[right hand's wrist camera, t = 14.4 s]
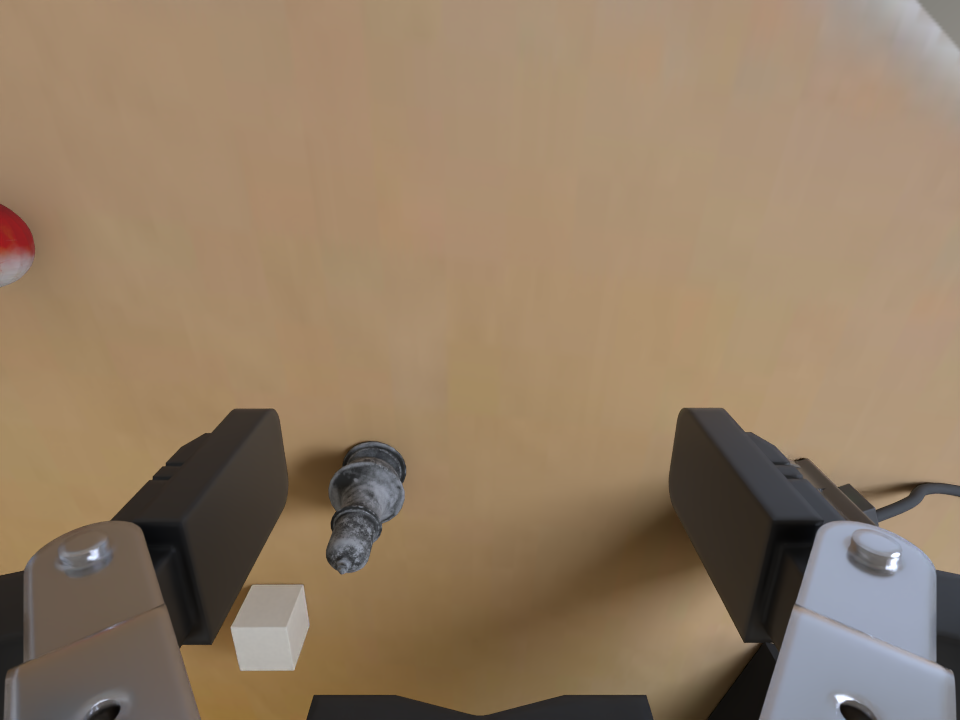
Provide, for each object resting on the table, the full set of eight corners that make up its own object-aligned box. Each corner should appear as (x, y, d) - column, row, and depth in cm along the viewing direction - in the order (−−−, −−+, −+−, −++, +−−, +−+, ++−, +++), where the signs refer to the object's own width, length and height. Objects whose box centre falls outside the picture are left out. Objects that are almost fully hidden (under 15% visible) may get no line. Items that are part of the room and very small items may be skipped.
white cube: (260, 625, 53) (239, 671, 49) (252, 584, 51) (229, 627, 47) (310, 625, 53) (294, 670, 49) (303, 583, 51) (286, 627, 47)
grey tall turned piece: (404, 503, 48) (382, 614, 37) (336, 492, 47) (291, 602, 36) (414, 444, 46) (393, 543, 34) (342, 432, 45) (297, 529, 34)
